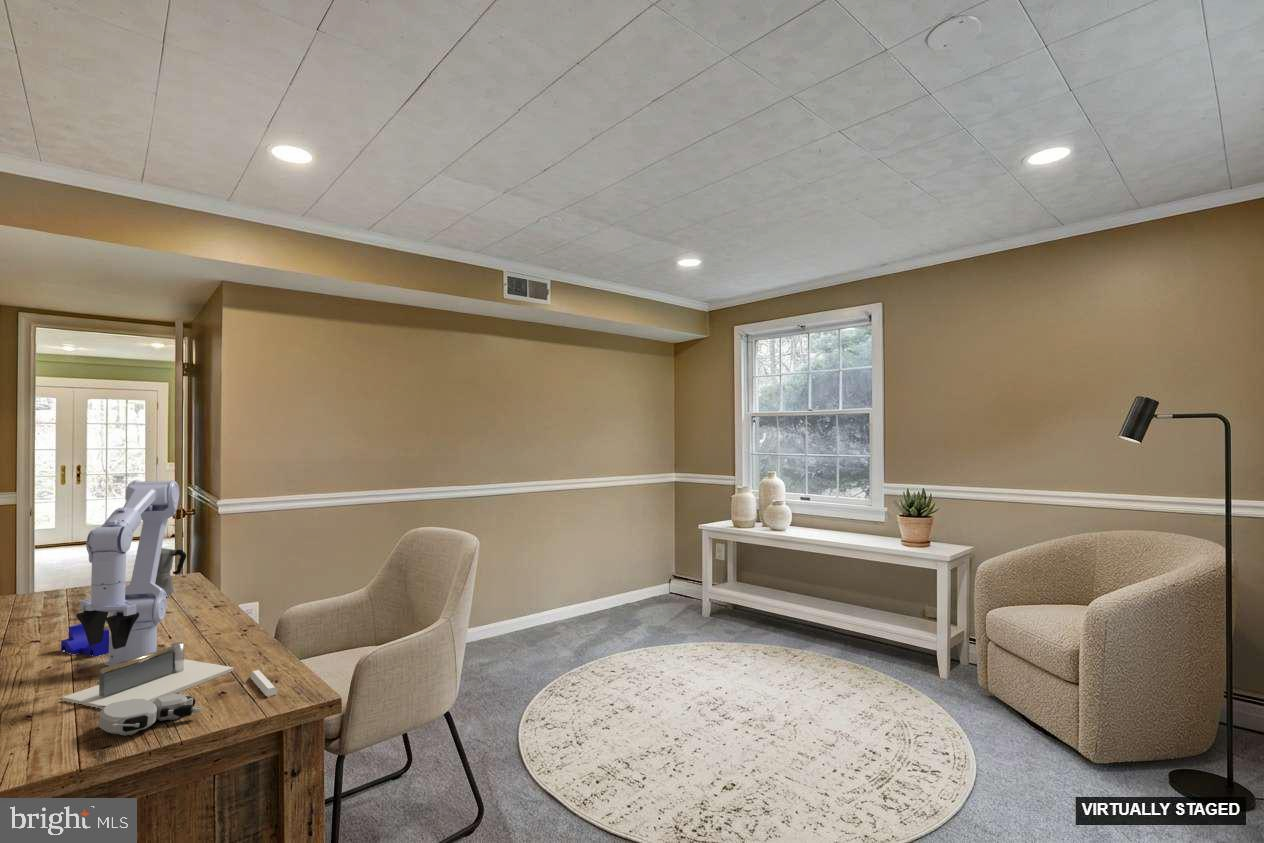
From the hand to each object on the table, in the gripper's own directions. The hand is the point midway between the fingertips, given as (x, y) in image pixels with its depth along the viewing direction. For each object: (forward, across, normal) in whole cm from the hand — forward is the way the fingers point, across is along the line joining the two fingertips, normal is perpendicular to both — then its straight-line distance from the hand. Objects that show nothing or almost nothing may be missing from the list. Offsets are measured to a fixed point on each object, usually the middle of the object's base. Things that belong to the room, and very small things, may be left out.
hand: (107, 645), depth 137 cm
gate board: (+9, +7, +5) cm, 13 cm away
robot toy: (+10, +25, -8) cm, 28 cm away
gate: (+8, +6, +2) cm, 10 cm away
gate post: (+9, +6, +11) cm, 16 cm away
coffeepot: (+10, -67, +58) cm, 89 cm away
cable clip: (+10, -30, +14) cm, 34 cm away
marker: (+10, +29, +13) cm, 33 cm away
